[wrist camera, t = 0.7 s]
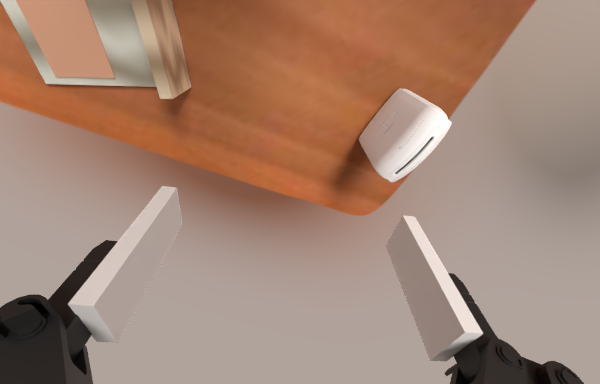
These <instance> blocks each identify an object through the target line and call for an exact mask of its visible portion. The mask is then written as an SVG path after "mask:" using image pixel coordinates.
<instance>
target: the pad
mask: <svg viewBox="0 0 600 384" xmlns="http://www.w3.org/2000/svg"><path fill="white" fill-rule="evenodd" d="M16 2H17V4H18V6H19V7H20V9H21V11H22V13H23V15H24V17H25V19H26V21H27V23H28V25H29V27H30V29H31V31H32V33H33V34H34V36H35V38H36V40H37V42H38V44H39V46H40V48H41V50H42V52H43V54H44V56H45V58H46V59H47V61H48V63H49V65H50V67H51V69H52V71H53V73H54V75H55V77H82V78H116V77H115V75H114V72H113V69H112V67H111V64H110V62H109V59H108V57H107V54H106V51H105V49H104V46H103V44H102V41H101V38H100V36H99V33H98V31H97V28H96V25H95V23H94V20H93V18H92V15H91V12H90V10H89V7H88V5H87V2H86V0H16Z"/></svg>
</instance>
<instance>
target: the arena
mask: <svg viewBox="0 0 600 384" xmlns="http://www.w3.org/2000/svg"><path fill="white" fill-rule="evenodd" d="M0 1H1V3H2V5H3V6H4V8H5V10H6V12H7V14H8V15H9V17H10V19H11V21H12V23H13V25H14V26H15V28H16V30H17V32H18V34H19V36H20V37H21V39H22V41H23V43H24V45H25V46H26V48H27V50H28V52H29V54H30V56H31V57H32V59H33V61H34V63H35V65H36V67H37V68H38V70H39V72H40V74H41V76H42V77H43V79H44V81H45V83H46V84H69V85H105V86H142V87H157V90H158V93H159V97H160V99H174V98H175V97H177V96H178V95H180V94H182V93H183V92H185V91H186V90H188V89H189V88H191V83H190V78H189V73H188V69H187V64H186V60H185V55H184V51H183V46H182V42H181V37H180V33H179V28H178V24H177V19H176V15H175V10H174V6H173V1H172V0H86V2H87V5H88V7H89V10H90V12H91V15H92V18H93V20H94V23H95V25H96V28H97V31H98V33H99V36H100V38H101V41H102V44H103V46H104V49H105V51H106V54H107V57H108V59H109V62H110V64H111V67H112V69H113V72H114V75H115V77H116V78H82V77H55V75H54V73H53V71H52V69H51V67H50V65H49V63H48V61H47V59H46V58H45V56H44V54H43V52H42V50H41V48H40V46H39V44H38V42H37V40H36V38H35V36H34V34H33V33H32V31H31V29H30V27H29V25H28V23H27V21H26V19H25V17H24V15H23V13H22V11H21V9H20V7H19V6H18V4H17V2H16V0H0Z"/></svg>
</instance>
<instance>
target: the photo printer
mask: <svg viewBox="0 0 600 384" xmlns="http://www.w3.org/2000/svg"><path fill="white" fill-rule="evenodd" d="M451 124H452V122H451V121H449V120H448V118H447V115H446V114H445V113H444V112H443V111H442V110H441V109H440V108H439V107H437V106H435V105H434V104H432V103H430V102H429V101H427V100H425V99H423V98H422V97H420V96H418V95H416V94H415V93H413V92H411V91H409V90H407V89H401V88H399V89H398V90H397V91H395V92H394V93H393V94H392V96H391V97H390V98H389V99H388V100H387V101H386V103H385V104H384V105H383V106H382V107H381V109H380V110H379V111H378V112H377V114H376V115H375V116H374V117H373V119H372V120H371V121H370V123H369V124H368V125H367V127H366V128H365V129H364V131H363V132H362V134H361V135H360V137H359V142H360V144H361V146H362V147H363V149H364V151H365V153H366V155H367V157H368V158H369V160H370V162H371V164H372V166H373V167H374V169H375V170H376V171H377V173H378V174H379V175H380V176H382V177H383V178H385V179H387V180H389V181H390V182H395V181H397V180H399V179H401V178H402V177H404V176H405V175H407V174H408V173H409V172H411V171H412V170H413V169H414V168H415V167H417V166H418V165H419V164H420V163H421V162H422V161H423V160H424V159H425V158H426V157H427V156H428V155H429V154H430V153H431V152H432V151H433V150H434V149H435V147H436V146H437V145H438V144H439V143H440V141H441V140H442V139H443V137H444V136H445V135H446V133H447V131H448V130H449V128H450V126H451Z"/></svg>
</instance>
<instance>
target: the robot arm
mask: <svg viewBox="0 0 600 384" xmlns="http://www.w3.org/2000/svg"><path fill="white" fill-rule="evenodd" d="M182 225H183V220H182V214H181V209H180V203H179V197H178V191H177V188H175V187H167V186H162V187H161V188H160V190H159V191H158V192H157V193H156V194H155V196H154V197H153V198H152V200H151V201H150V202H149V203H148V205H147V206H146V207H145V208H144V210H143V211H142V212H141V213H140V214H139V216H138V217H137V218H136V220H135V221H134V222H133V223H132V224H131V226H130V227H129V228H128V230H127V231H126V232H125V233H124V235H123V236H122V237H121V238H120V239H119V241H108V240H106V241H104V242H103V243H101V244H100V245H98V246H97V247H95V248H94V249H93V250H92V251H91V252H90V253H89V254H88V255H87V256H86V258H85V259H84V261H83V262H81V263H80V264H79V266H78V267H77V268H76V270H74V271H73V272H72V274H71V275H70V276H69V277H68V278H67V279H66V280H65V281H64V282H63V284H62V285H61V286H60V287H59V288H58V289H57V290H56V292H55V293H54V294H53V295H52V296H51V297H50V299H49V300H47V299H46V298H45V297H43V296H41V295H27V296H23V297H19V298H17V299H15V300H13V301H11V302H9V303H6V304H5V305H3V306H2V307H1V308H0V384H93V381H92V375H91V369H90V364H89V358H88V352H87V348H86V346H85V344H86V342H87V341H88V339H89V338H90V336H91V335H92V336H93V338H94V339H95V340H96V341H97V342H98V341H99V342H115V343H117V342H118V341H119V339H120V337H121V335H122V333H123V332H124V330H125V328H126V326H127V325H128V323H129V321H130V319H131V317H132V316H133V314H134V312H135V310H136V308H137V306H138V305H139V303H140V301H141V299H142V297H143V295H144V294H145V292H146V290H147V288H148V286H149V285H150V283H151V281H152V279H153V277H154V276H155V274H156V272H157V270H158V269H159V267H160V265H161V263H162V261H163V259H164V258H165V256H166V254H167V252H168V250H169V249H170V247H171V245H172V243H173V241H174V239H175V238H176V236H177V234H178V232H179V231H180V229H181V227H182ZM386 247H387V250H388V253H389V255H390V257H391V260H392V263H393V265H394V268H395V270H396V273H397V276H398V278H399V281H400V283H401V286H402V289H403V291H404V294H405V296H406V299H407V302H408V304H409V307H410V309H411V312H412V314H413V317H414V320H415V322H416V324H417V327H418V330H419V332H420V335H421V338H422V340H423V343H424V345H425V348H426V351H427V353H428V356H429V358H430V360H431V361H447V360H449V359H450V358H451V357H453V356H454V358H455V360H456V362H457V364H455V365H454V366H452V367H451V368H449V369H448V370H447V371H446V372H445V375H446V376H448V375H449V374H451V373H452V372H453V373H452V377H451V382H450V384H584V383H583V382H582V381H581V380H580V378H579V377H578V376H577V375H576V374H575V373H573V372H572V371H571V370H570V369H569V368H567V367H566V366H564V365H563V364H561V363H558V362H555V361H548V362H546V363H545V364H542V365H541V364H538V363H536V362H533V361H531V360H528V359H526V358H523V357H521V356H520V354H519V353H518V352H517V351H516V350H515V349H514V348H513V347H512V346H510V345H509V344H508V343H506V342H504V341H502V340H500V339H498V338H497V336H496V335H495V333H494V332H493V330H492V329H491V327H490V326H489V324H488V323H487V321H486V319H485V317H484V316H483V314H482V313H481V311H480V309H479V308H478V306H477V305H476V304H475V303H474V300H473V298H472V297H471V295H469V292H468V290H467V289H466V287H465V285H464V284H463V283H462V282H461V281H460V280H459V278H458V277H457V276H456V275H454V274H450V273H447V271H446V269H445V267H444V266H443V264H442V262H441V261H440V259H439V257H438V256H437V254H436V252H435V251H434V249H433V247H432V246H431V244H430V242H429V240H428V239H427V237H426V235H425V234H424V232H423V230H422V228H421V227H420V225H419V223H418V222H417V220H416V218H415V217H411V216H404V215H403V216H402V218H401V220H400V221H399V223H398V225H397V227H396V229H395V230H394V232H393V234H392V236H391V238H390V239H389V241H388V243H387V245H386Z"/></svg>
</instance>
